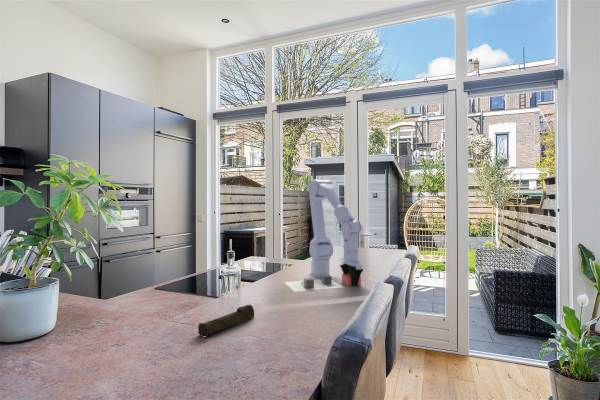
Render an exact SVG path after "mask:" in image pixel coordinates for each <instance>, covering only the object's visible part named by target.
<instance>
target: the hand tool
mask: <svg viewBox="0 0 600 400" xmlns="http://www.w3.org/2000/svg"><path fill="white" fill-rule="evenodd" d="M254 318H255V310H254V307H253V305H251V304H246V305H243V306H239V307H237V308H236V311H234V312H231V313H229V314H226V315H223V316H221V317H218V318H214V319H212V320H208V321H206V322H204V323H203V322H202V323H201V322H200V323H198V327H197V328H198V335H199V334H200V335H202V336H206V337H207V336H208V335H212V336H213V335H214V334H216V333H218V332H220V331H223V330H226V329H228V328H231V327H233V326H235V325H238V324H240V323H244V324H246V323H248V322H249V320H250V321H251V320H252V319H254ZM245 322H246V323H245ZM213 333H214V334H213ZM200 335H199V336H200ZM208 337H209V336H208ZM208 337H207V338H208Z"/></svg>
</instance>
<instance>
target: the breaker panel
mask: <svg viewBox="0 0 600 400" xmlns="http://www.w3.org/2000/svg"><path fill="white" fill-rule="evenodd" d="M313 280H314V288H305V287H304V280H296V281H295V280H294V281H284V284H285V285H287V287H289V289H290V290H292V291H293V292H294V293H296V292H307V291H308V292H309V291H319V290H321V291H322V290H330V289H342V288H344V286H343V285H341V284H339V283H338V282H336V281H335V280H333V278H332V275H322V277H321V279H320V278H317V279H313Z"/></svg>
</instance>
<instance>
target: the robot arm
mask: <svg viewBox="0 0 600 400" xmlns="http://www.w3.org/2000/svg"><path fill="white" fill-rule="evenodd" d="M307 188H308V198H309V203H310V206H309V207H310V214H311V222H312V231H313V238H312V239H311V240H310V242H309V248H308V249H309V250H308V253H309V255H310V257H311V259H312V260H311V261H310V262H311V263H310V264H311V265H310V266H311V267H310V269H311V274H312V275H313V276H314V277H315V278H316V277H317V278H322V275H330V268H331V267H330V259H331V258H332V256H333V254H334V247H333V245H332V240H331V239H330V238H329V237H328V236H327V233H326V225H325V216H324V208H323V201H324V200H325V199H327V201H328V202H329V203H330V205H331V206H332V207H333V209H334V212H333V214H334V216H335V217H336V219H337V220H338V221H337V222H339V224H340V226H341V227H340V232H341V235H342V239H343V257H341V262H340V263H341V264H340V265H339V267H340V269H341V271H342V274H349V273H350V276H351V283H352V286H353V287H358V286H359V285H358V282H359V278H360V276H361V275H362V273H363V272H364V268H363V267H362V266H363V264H362V263H361V262H360V261H359V234H360V233H361V232H362V225H361V221H360V220H359V219H356V218H354V216H353V215H352V213H351V212H350V211H349V208H348V207H347V206H346V205H343V204H342V202H341V201H340V199H339V197H338V195H337V193H336V191H335V189H336V188H335V184H334V183H333V181H332V180H330V179H315V178H314V179H311V180H310V182H309V184H308V185H307ZM330 276H331V275H330ZM352 286H351V287H352Z"/></svg>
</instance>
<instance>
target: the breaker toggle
mask: <svg viewBox="0 0 600 400" xmlns="http://www.w3.org/2000/svg"><path fill="white" fill-rule="evenodd" d="M314 280H315V279H313V278H312V277H309V278H303V281H304V287H305V288H314Z"/></svg>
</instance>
